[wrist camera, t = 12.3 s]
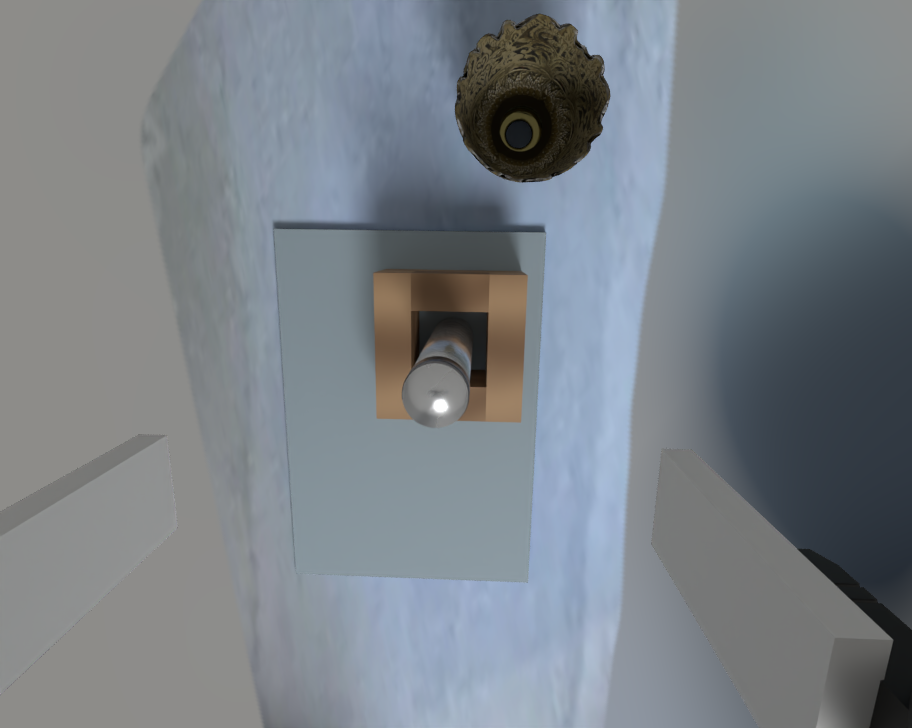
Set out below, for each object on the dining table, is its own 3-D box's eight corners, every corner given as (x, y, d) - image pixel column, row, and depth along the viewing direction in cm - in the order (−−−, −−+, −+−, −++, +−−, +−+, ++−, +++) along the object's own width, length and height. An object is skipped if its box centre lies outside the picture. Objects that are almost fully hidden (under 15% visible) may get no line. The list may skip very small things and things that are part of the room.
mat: (527, 579, 40) (527, 582, 39) (297, 570, 41) (295, 573, 40) (545, 232, 34) (546, 232, 34) (275, 228, 35) (273, 228, 34)
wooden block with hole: (516, 400, 36) (521, 422, 32) (388, 397, 37) (376, 418, 32) (521, 271, 34) (527, 275, 30) (386, 268, 34) (373, 272, 30)
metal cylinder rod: (474, 358, 36) (468, 429, 22) (432, 357, 36) (401, 428, 22) (474, 316, 35) (469, 363, 21) (431, 315, 35) (400, 362, 21)
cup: (436, 132, 33) (423, 98, 25) (522, 42, 31) (537, -25, 24) (515, 220, 34) (526, 213, 26) (602, 136, 32) (641, 102, 25)
